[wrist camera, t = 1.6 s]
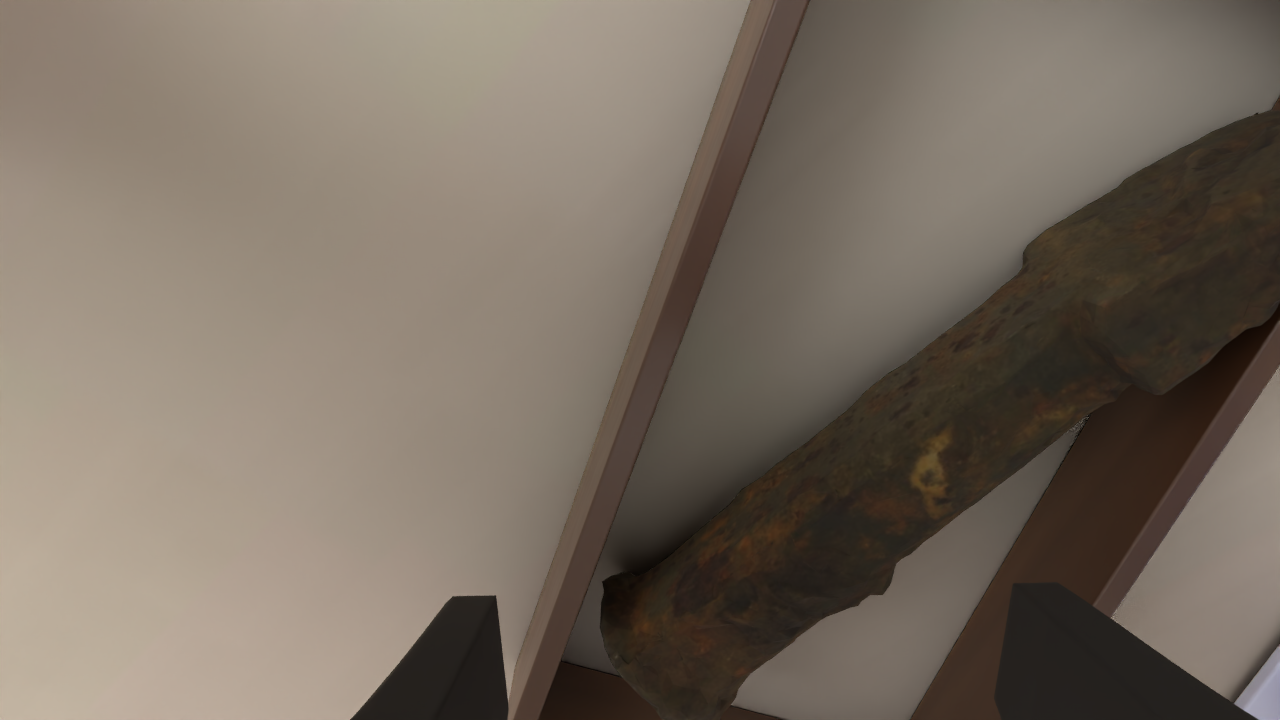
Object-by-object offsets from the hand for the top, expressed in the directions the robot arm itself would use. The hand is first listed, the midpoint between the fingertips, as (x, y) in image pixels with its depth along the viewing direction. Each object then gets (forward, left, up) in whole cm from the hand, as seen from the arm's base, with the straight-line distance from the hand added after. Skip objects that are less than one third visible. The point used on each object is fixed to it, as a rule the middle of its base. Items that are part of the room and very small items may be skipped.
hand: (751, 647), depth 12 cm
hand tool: (-5, -2, -10) cm, 11 cm away
